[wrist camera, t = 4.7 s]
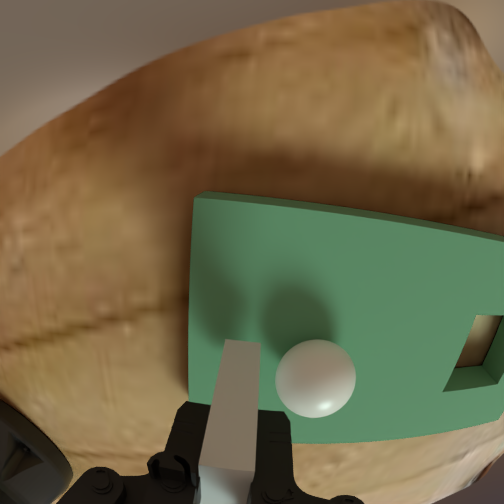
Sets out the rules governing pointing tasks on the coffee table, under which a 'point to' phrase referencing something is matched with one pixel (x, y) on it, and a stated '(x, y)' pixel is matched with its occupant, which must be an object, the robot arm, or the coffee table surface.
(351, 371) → the ball
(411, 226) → the green
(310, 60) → the coffee table surface
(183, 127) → the coffee table surface
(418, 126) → the coffee table surface
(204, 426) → the robot arm
